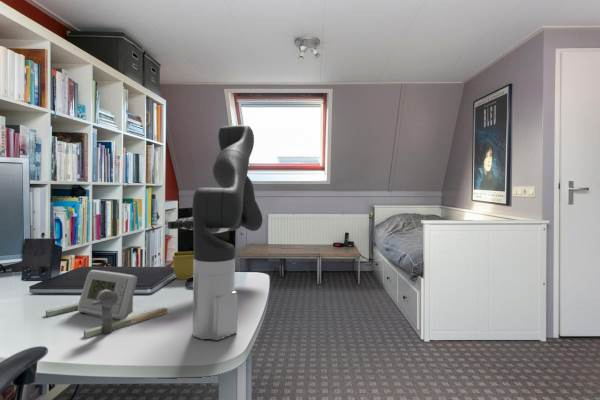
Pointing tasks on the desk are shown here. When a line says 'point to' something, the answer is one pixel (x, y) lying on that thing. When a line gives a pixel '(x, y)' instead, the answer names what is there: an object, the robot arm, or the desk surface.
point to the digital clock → (112, 282)
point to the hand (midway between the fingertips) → (169, 225)
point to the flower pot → (183, 264)
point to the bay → (107, 314)
